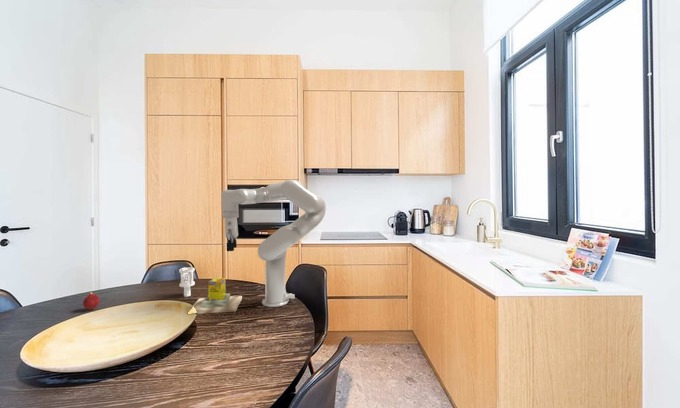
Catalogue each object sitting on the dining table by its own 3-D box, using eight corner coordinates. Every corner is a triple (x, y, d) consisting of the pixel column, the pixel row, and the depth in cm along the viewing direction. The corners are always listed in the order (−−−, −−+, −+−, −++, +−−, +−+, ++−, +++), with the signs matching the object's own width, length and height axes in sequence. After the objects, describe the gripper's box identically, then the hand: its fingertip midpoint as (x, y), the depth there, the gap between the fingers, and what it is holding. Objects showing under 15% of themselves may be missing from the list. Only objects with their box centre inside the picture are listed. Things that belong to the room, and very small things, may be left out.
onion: (103, 307, 131) (103, 290, 131) (91, 312, 126) (91, 294, 125) (92, 307, 132) (91, 290, 132) (79, 312, 126) (79, 294, 126)
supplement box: (221, 304, 131) (221, 281, 131) (208, 305, 130) (208, 281, 130) (225, 300, 137) (225, 277, 136) (213, 300, 136) (212, 277, 136)
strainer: (176, 297, 145) (175, 268, 145) (187, 292, 152) (187, 265, 152) (187, 298, 143) (186, 269, 143) (197, 294, 150) (197, 265, 150)
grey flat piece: (241, 298, 143) (241, 290, 143) (235, 311, 127) (235, 302, 127) (199, 301, 139) (199, 293, 139) (187, 314, 124) (187, 305, 123)
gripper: (236, 215, 132) (237, 251, 133) (240, 213, 149) (241, 246, 149) (219, 216, 131) (220, 253, 131) (225, 214, 147) (226, 247, 148)
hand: (231, 249), depth 140 cm, fingers open, 9 cm apart
